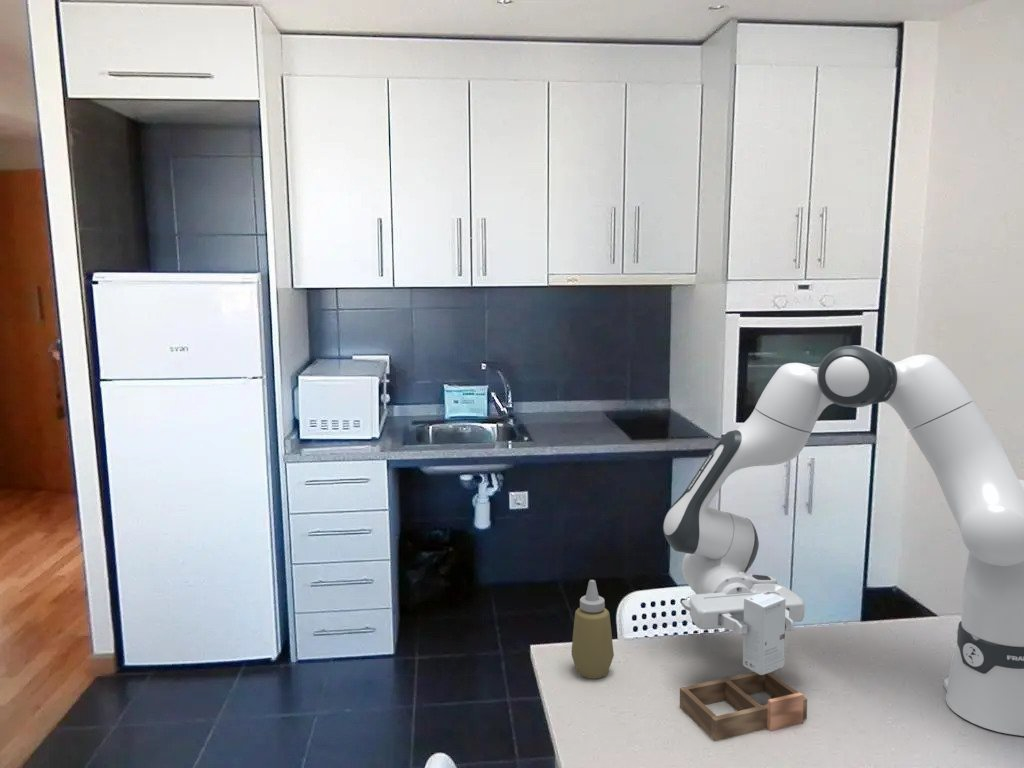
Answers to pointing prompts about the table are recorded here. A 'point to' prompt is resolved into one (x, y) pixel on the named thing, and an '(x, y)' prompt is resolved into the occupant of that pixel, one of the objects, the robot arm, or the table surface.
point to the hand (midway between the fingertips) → (766, 628)
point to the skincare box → (764, 633)
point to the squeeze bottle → (592, 635)
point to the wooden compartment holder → (743, 705)
